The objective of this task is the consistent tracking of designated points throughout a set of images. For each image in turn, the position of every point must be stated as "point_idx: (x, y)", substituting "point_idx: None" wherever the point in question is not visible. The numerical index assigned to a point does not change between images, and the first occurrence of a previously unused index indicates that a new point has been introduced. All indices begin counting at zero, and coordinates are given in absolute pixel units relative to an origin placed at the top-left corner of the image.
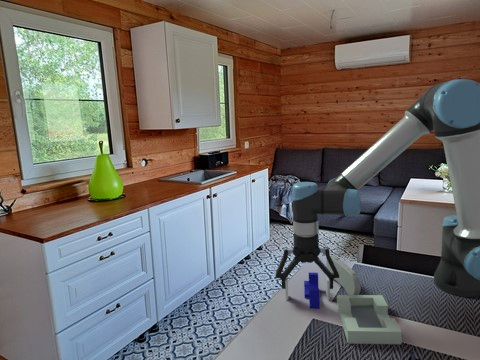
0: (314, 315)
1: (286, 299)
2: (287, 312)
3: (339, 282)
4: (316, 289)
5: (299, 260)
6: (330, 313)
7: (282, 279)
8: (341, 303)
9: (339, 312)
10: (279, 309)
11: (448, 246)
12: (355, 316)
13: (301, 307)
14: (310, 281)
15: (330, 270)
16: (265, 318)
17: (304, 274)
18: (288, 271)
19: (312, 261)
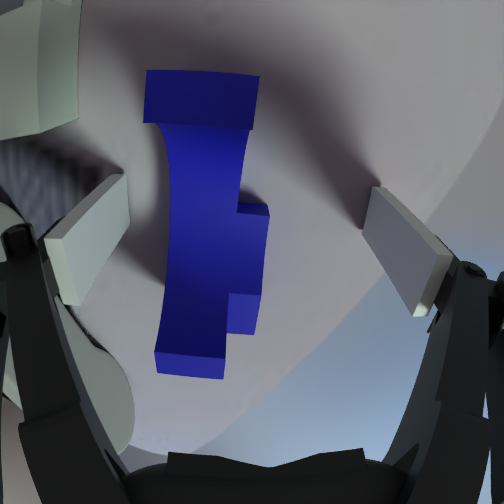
0: (232, 4)
1: (383, 188)
2: (396, 58)
3: (68, 320)
4: (174, 104)
5: (436, 479)
6: (126, 30)
7: (473, 264)
8: (29, 26)
9: (74, 33)
10: (433, 99)
11: None
12: (11, 1)
13: (305, 96)
14: (216, 314)
15: (113, 396)
16: (493, 43)
17: (235, 395)
18: (474, 319)
19: (154, 473)
